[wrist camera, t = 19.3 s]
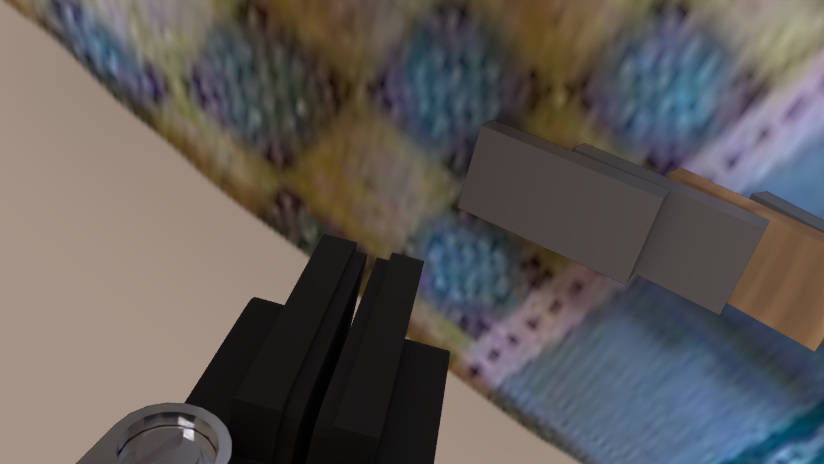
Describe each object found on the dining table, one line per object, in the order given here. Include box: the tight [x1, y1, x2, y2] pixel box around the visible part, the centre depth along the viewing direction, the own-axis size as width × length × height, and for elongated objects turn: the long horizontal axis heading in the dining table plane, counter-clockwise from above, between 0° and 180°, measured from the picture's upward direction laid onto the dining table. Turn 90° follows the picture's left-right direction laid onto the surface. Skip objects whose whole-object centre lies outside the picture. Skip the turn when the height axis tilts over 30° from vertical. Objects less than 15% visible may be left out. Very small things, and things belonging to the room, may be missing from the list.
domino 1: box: [458, 120, 670, 285], centre depth 37 cm, size 2×5×10 cm
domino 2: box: [573, 143, 770, 315], centre depth 36 cm, size 2×5×10 cm
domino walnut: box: [667, 168, 824, 352], centre depth 36 cm, size 2×5×10 cm
